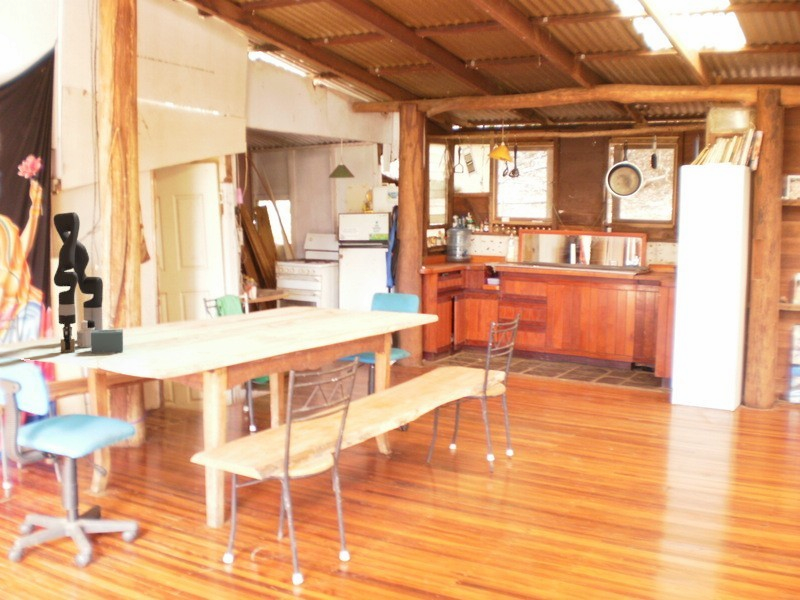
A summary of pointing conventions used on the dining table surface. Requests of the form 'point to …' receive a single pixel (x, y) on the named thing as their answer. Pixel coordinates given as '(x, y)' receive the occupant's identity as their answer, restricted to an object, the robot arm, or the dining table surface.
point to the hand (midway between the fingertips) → (67, 349)
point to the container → (85, 333)
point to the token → (72, 346)
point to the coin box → (107, 341)
